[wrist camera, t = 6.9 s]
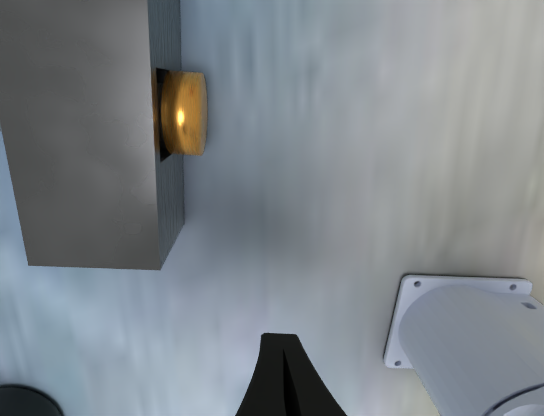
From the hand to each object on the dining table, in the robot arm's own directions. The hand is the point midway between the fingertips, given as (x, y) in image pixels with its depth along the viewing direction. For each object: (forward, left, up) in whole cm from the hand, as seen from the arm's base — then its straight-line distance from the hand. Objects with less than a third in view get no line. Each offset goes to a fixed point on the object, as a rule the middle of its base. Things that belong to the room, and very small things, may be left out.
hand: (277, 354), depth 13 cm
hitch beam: (+8, -8, -10) cm, 15 cm away
